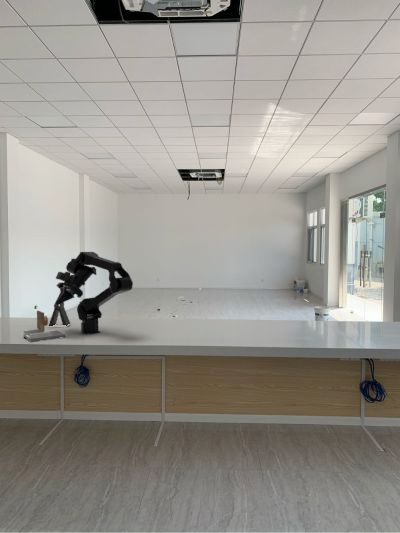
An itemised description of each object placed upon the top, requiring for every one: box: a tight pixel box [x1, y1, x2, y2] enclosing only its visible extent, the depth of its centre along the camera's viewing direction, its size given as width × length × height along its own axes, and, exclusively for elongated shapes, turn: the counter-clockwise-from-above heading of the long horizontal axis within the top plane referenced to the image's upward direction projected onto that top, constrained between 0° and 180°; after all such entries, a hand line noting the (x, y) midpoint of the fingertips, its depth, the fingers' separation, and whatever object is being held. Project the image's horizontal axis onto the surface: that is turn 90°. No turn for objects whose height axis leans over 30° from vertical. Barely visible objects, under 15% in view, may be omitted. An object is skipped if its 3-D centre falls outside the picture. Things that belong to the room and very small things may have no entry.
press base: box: [23, 328, 66, 343], centre depth 167 cm, size 14×11×3 cm
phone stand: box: [48, 302, 71, 326], centre depth 192 cm, size 9×6×12 cm, turn 92°
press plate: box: [36, 310, 49, 332], centre depth 167 cm, size 3×8×8 cm, turn 37°
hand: (55, 304), depth 170 cm, fingers closed
